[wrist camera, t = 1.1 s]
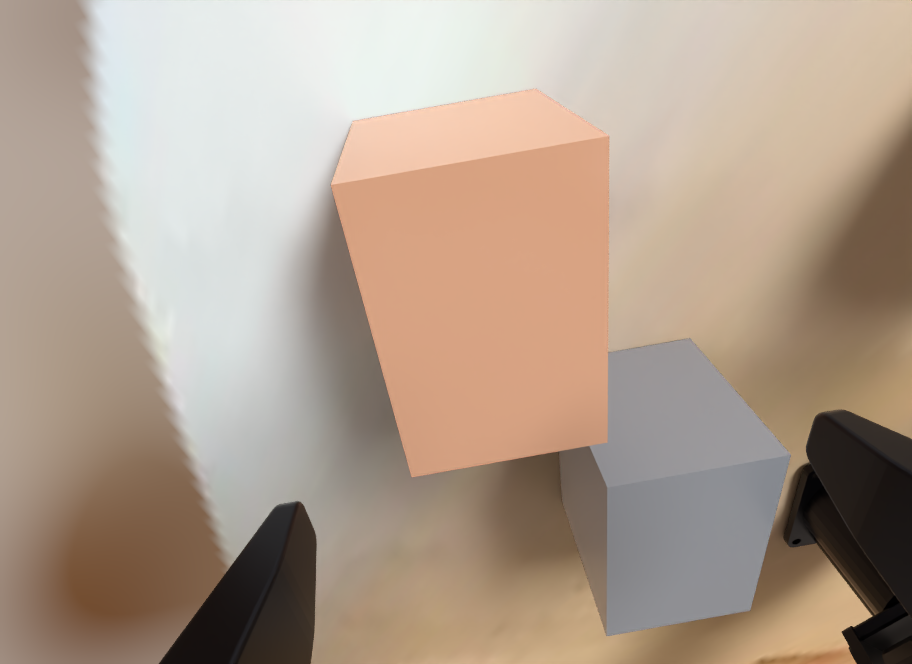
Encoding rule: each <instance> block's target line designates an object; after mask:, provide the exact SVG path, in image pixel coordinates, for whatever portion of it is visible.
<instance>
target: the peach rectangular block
mask: <svg viewBox="0 0 912 664" xmlns="http://www.w3.org/2000/svg"><path fill="white" fill-rule="evenodd" d="M331 188H332V192H333V195H334V199H335V202H336V206H337V210H338V213H339V217H340V221H341V224H342V228H343V231H344V235H345V239H346V242H347V246H348V249H349V253H350V257H351V260H352V264H353V268H354V271H355V275H356V278H357V282H358V286H359V289H360V293H361V296H362V300H363V304H364V307H365V311H366V315H367V318H368V322H369V325H370V329H371V333H372V336H373V340H374V343H375V347H376V351H377V354H378V358H379V361H380V365H381V369H382V372H383V376H384V380H385V383H386V387H387V390H388V394H389V398H390V401H391V405H392V408H393V412H394V416H395V419H396V423H397V427H398V430H399V434H400V437H401V441H402V445H403V448H404V452H405V455H406V459H407V463H408V466H409V470H410V474H411V477H417V476H422V475H428V474H434V473H439V472H445V471H450V470H456V469H462V468H467V467H473V466H479V465H484V464H490V463H495V462H501V461H507V460H512V459H518V458H524V457H529V456H535V455H540V454H546V453H552V452H557V451H563V450H569V449H574V448H580V447H585V446H591V445H597V444H602V443H608V271H609V135H607V134H606V133H604V132H603V131H601V130H599V129H598V128H596V127H595V126H593V125H592V124H590V123H589V122H587V121H585V120H584V119H582V118H581V117H579V116H578V115H576V114H575V113H573V112H572V111H570V110H568V109H567V108H565V107H564V106H562V105H561V104H559V103H558V102H556V101H555V100H553V99H551V98H550V97H548V96H547V95H545V94H544V93H542V92H541V91H539V90H538V89H532V90H526V91H520V92H515V93H509V94H503V95H498V96H492V97H486V98H481V99H475V100H469V101H464V102H458V103H452V104H447V105H441V106H435V107H430V108H424V109H418V110H413V111H407V112H401V113H396V114H390V115H384V116H379V117H373V118H367V119H362V120H356V121H353V122H352V125H351V128H350V131H349V134H348V136H347V139H346V142H345V145H344V148H343V151H342V154H341V157H340V160H339V162H338V165H337V168H336V171H335V174H334V177H333V180H332V183H331Z"/></svg>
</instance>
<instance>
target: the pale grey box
mask: <svg viewBox="0 0 912 664" xmlns="http://www.w3.org/2000/svg"><path fill="white" fill-rule="evenodd" d="M790 457H791V454H790V453H789V452H788V451H787V450H786V449H785V447H784V446H783V445H782V444H781V443H780V442H779V440H778V439H777V438H776V437H775V436H774V435H773V434H772V432H771V431H770V430H769V429H768V428H767V427H766V425H765V424H764V423H763V422H762V421H761V420H760V419H759V417H758V416H757V415H756V414H755V413H754V412H753V410H752V409H751V408H750V407H749V406H748V405H747V403H746V402H745V401H744V400H743V399H742V398H741V397H740V395H739V394H738V393H737V392H736V391H735V390H734V388H733V387H732V386H731V385H730V384H729V383H728V382H727V380H726V379H725V378H724V377H723V376H722V375H721V373H720V372H719V371H718V370H717V369H716V368H715V366H714V365H713V364H712V363H711V362H710V361H709V360H708V358H707V357H706V356H705V355H704V354H703V353H702V351H701V350H700V349H699V348H698V347H697V346H696V345H695V343H694V342H693V341H692V340H691V339H690V338H689V339H684V340H678V341H672V342H667V343H661V344H655V345H650V346H644V347H639V348H633V349H627V350H622V351H616V352H610V353H608V443H602V444H597V445H591V446H585V447H580V448H574V449H569V450H563V451H559V462H560V478H561V494H562V503H563V506H564V509H565V512H566V515H567V518H568V521H569V524H570V527H571V530H572V533H573V536H574V539H575V542H576V545H577V548H578V551H579V554H580V558H581V561H582V564H583V567H584V570H585V573H586V576H587V579H588V582H589V585H590V588H591V591H592V594H593V597H594V600H595V603H596V606H597V609H598V612H599V615H600V618H601V621H602V624H603V627H604V630H605V633H606V636H611V635H617V634H622V633H628V632H633V631H639V630H645V629H650V628H656V627H661V626H667V625H673V624H678V623H684V622H689V621H695V620H700V619H706V618H712V617H717V616H723V615H728V614H734V613H740V612H745V611H750V610H751V606H752V602H753V598H754V594H755V590H756V587H757V583H758V579H759V575H760V571H761V568H762V564H763V560H764V556H765V552H766V548H767V545H768V541H769V537H770V533H771V529H772V525H773V522H774V518H775V514H776V510H777V506H778V502H779V499H780V495H781V491H782V487H783V483H784V480H785V476H786V472H787V468H788V464H789V460H790Z"/></svg>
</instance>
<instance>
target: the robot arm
mask: <svg viewBox="0 0 912 664" xmlns="http://www.w3.org/2000/svg"><path fill="white" fill-rule="evenodd" d="M806 453H807V457H808V459H809V462H810V463H811V464H809V465H808V466H806V467H805V468H804V469H803V471H802V475H801V478H800V482H799V485H798V489H797V492H796V496H795V499H794V503H793V506H792V510H791V513H790V517H789V520H788V524H787V528H786V531H785V535H784V540H785V542H786V543H787V544H788V546H789V547H798V546H804V545H809V544H815V543H817V545H818V546H819V547H820V549H821V550H822V551H823V552H824V554H825V555H826V556H827V558H828V559H829V560H830V562H831V563H832V564H833V565H834V567H835V568H836V569H837V571H838V572H839V573H840V575H841V576H842V577H843V578H844V580H845V581H846V582H847V584H848V585H849V586H850V587H851V589H852V590H853V591H854V593H855V594H856V595H857V597H858V598H859V599H860V600H861V602H862V603H863V604H864V606H865V607H866V608H867V610H868V611H869V612H870V613H871V615H872V616H873V617H871V618H869V619H867V620H866V621H864V622H862V623H860V624H859V625H857V626H855V627H852V626H850V627H849V628H847V629H845V630H843V631H842V634H843V636H844V637H845V639H846V641H847V643H848V645H849V646H850V647H849V650H850V653H851V654H852V656H853V658H854V660H855V661H856V663H857V664H912V439H910V438H908V437H906V436H904V435H901V434H899V433H897V432H895V431H892V430H890V429H888V428H885V427H883V426H881V425H879V424H876V423H874V422H872V421H869V420H867V419H865V418H863V417H860V416H858V415H856V414H854V413H851V412H849V411H846V410H833V411H827V412H821V413H819V414H818V415H817V416H816V417H815V419H814V421H813V425H812V428H811V431H810V435H809V438H808V441H807V445H806ZM316 547H317V543H316V534H315V531H314V528H313V526H312V524H311V521H310V519H309V517H308V514H307V512H306V510H305V507H304V505H303V504H302V503H301V502H299V501H295V502H290V503H284V504H279V505H277V506H276V507H275V508H274V509H273V510H272V511H271V513H270V514H269V515H268V517H267V518H266V520H265V521H264V522H263V524H262V525H261V526H260V528H259V529H258V530H257V532H256V533H255V534H254V536H253V537H252V538H251V540H250V541H249V542H248V544H247V545H246V547H245V548H244V549H243V551H242V552H241V553H240V555H239V556H238V557H237V559H236V560H235V561H234V563H233V564H232V565H231V567H230V568H229V570H228V571H227V572H226V574H225V575H224V576H223V578H222V579H221V580H220V582H219V583H218V584H217V586H216V587H215V588H214V590H213V591H212V593H211V594H210V595H209V597H208V598H207V599H206V601H205V602H204V603H203V605H202V606H201V608H200V609H199V610H198V612H197V613H196V614H195V616H194V617H193V618H192V620H191V621H190V622H189V624H188V625H187V626H186V628H185V629H184V630H183V632H182V633H181V634H180V636H179V637H178V638H177V640H176V641H175V643H174V644H173V645H172V647H171V648H170V649H169V651H168V652H167V653H166V655H165V656H164V657H163V659H162V660H161V662H160V663H159V664H311V657H312V649H313V640H314V626H315V590H316Z"/></svg>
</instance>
